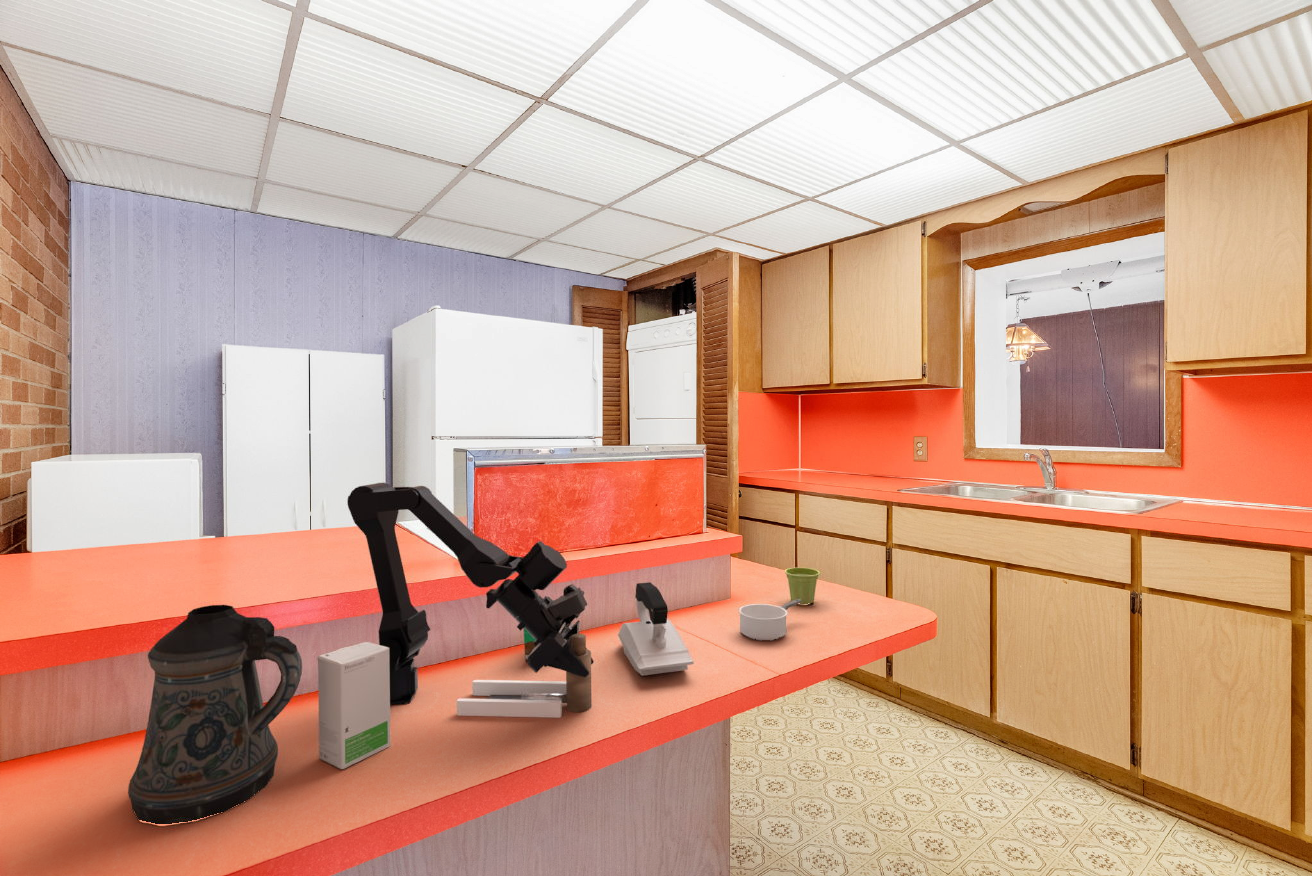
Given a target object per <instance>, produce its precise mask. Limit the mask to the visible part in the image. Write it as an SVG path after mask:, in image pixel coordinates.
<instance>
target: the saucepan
mask: <svg viewBox="0 0 1312 876" xmlns="http://www.w3.org/2000/svg"><path fill="white" fill-rule="evenodd" d="M800 602H801V600H800V599H796V600H794V601H791V600H790V601H789V602H786V603H783V604H782V605H780V606H779V605H774V604H768V603H753V604H752V603H751V604H746V605H743V606H740V607H739V608H738V611H737V612H738V613H739V630H740V633H741V634H743V635H744V636H746V637H748V638H750V639H752V640H755V639H756V640H757V641H762V640H770V641H774V639H776V640H778V639H780V638H782V637H784V636H786V634H787V616H788V614H789V612H788V609H789V608H790V607H794V606H795V605H797V604H798V603H800ZM779 637H780V638H779ZM756 640H755V641H756Z"/></svg>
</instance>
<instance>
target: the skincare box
mask: <svg viewBox="0 0 1312 876" xmlns="http://www.w3.org/2000/svg"><path fill="white" fill-rule="evenodd" d="M316 659H317V668H318V669H317V671H318V672H317V673H318V675H317V676H318V686H317V687H318V758H319V759H320V760H322V761H324V762H326V763H328V764H329V765H331V766H334V767H335V768H338V769H340V770H344V769H347V768H348V767H350V766H352V765H355V764H357V763H359V762H360V761H361V762H362V760H365V759H367V758H369V757H371V756H373V755H375V754H377V753H379V752H381V751H384V750H385V749H387V748H389V747H390V746H391V744H392V743H391V704H390V670H389V669H390V668H389V648H388V647H385V646H381V645H379V644H378V643H377V644H376V643H373V642H370V641H364V642H360V643H357V644H354V645H350V646H345V647H341V648H338V649H337V650H334V651H330V652H327V653H326V652H325V653H323V654H321V655H318V656H317V658H316Z"/></svg>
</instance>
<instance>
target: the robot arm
mask: <svg viewBox="0 0 1312 876" xmlns="http://www.w3.org/2000/svg"><path fill="white" fill-rule="evenodd" d="M346 500H347V507H348V508H347V509H348V510H349V513H350V515H351V517H352V520H353V523H354V524H355V525H356V526H357V528H359V530H360V532H362V534H364V536H365V539H366V542H367V547H368V551H369V556H370V560H371V566H372V570H373V574H374V575H373V576H374V578H375V583H376V587H377V592H378V597H379V602H380V606H381V610H382V615H381V620H380V624H379V628H378V645H381V646H385V647H388V648H389V668H390V669H389V670H390V705H396V704H397V705H398V704H408V703H411V702H412V701H413V697H414V695H416V693H417V691H418V689H419V678H418V667H417V666H415V659H414V658H415V657H417V656H419V654H420V651H421V649H422V648H423V647H424V646H425V644H426V643H427V641H428V640H429V639H428V638H429V632H430V631H431V627H430V626H429V624H428V621H427V613H426V610H425V609H422V610H420V611H418V610H417V609H416V607H414V606H413V604H412V602H411V597H410V592H409V589H408V584H407V580H406V575H405V571H404V565H403V562H402V557H401V553H400V548H399V544H398V538H397V534H396V529H395V528H396V523H397V520H398V516H399V511H400V510H401V511H404V510H405V511H406V510H408V511H410V512H411V514H413V516H415V517H416V518H417V519H418V520H419V521H420V522H421V523H422V524H423V525H424V526H425V527H426V528H427V529H428V530H430V532H431V533H433V534H434V535H435V537H437V538H438V539H439V540H440V541H441V543H443V544H444V545H445V546H446V547H447V548H448V549H449V550H450V551H451V552H453V554H454V555H455V556H456V558H457V560H458V563H459V566H460V569H461V570H462V571H463V573H464V574H465V576H466V577H467V578H468V580H470V582H471V584H473V585H474V586H475V587H478V588H480V589H481V588H490V587H492V586H494V585H495V584H497V583H498V582H499V581H503V580H504V581H503V582H502V583H500V585H498V587H496V588H490V589H489V590H488V591H486V593H485V595H486V604H485V607H486V609H488V610H489V609H491V608H492V606H494V605H495V603H497V602H498V603H499V604H500V605H501V607H503V608H504V609H505V611H507V613H509V615H511V616H512V618H513V619H515V620H516V621H517V622H518V624H517V625H516V628H517V629H518V630H519V631H522V630H524V628H525V629H526V630H527V631H528V632H529V633H530V634H531V635H532V636H533V637H534V638H535V639H536V640H535V642H534V643H533V644H534V645H535V646H536V647H535V648H534V649H533V650H532V652H531V653H530V655H529V656H528V663H527V666H528V667H529V668H530V669H532V671H534V673H538V672H539V671H540V670H541V669H542V668H543V667H544V668H547V667H550V668H554V669H557V670H560V671H565V672H566V671H567V672H570V673H573V674H576V675H579V676H582V677H587V676H588V675H589V671H588V669H587V668H586V666H585V665H584V664H583V662H582V661H581V660H580V659H579V657H578V656H577V655H576V653H575V652H574V651H573V650H572V647H571V636H572V635H574V634H580V622H581V621H580V619H578V618H579V617H580V615H581V614H582V612H584V611H585V610H586V606H588V602H587V600H586V598H585V596H584V595H585V591H584V590H582V589H581V587H577V586H575V585H574V584H573V583H571V584H569V585H566V586H565V587H564V588H563V595H560V596H559V597H558V598H556V599H554V600H553V599H552V598H551V597H549V596H547V595H545V596H544V597H543V596H541V595H540V594H539V593H538V592H537V591H536V590H540V591H544V590H546V589H547V588H548V587H549V586H550V585H551V584H552V583H553V582H554V581H555V580H556V579H557V578H558V577H559V576H560V575H561V574H562V573H563V572H564V571H565V570H566V569H567V567H568V565H567V561H566V559H565V558H564V557H563V554H561V552H559V551H558V549H557V550H556V549H554V548H553V547H552V546H550V545H548V544H547V545H546V544H545V543H544V542H543V541H542V540H539V541H536V543H534V545H532V546H531V548H530V550H529V551H528V553H526V554H525V556H523V557H521V556H516V555H511V554H508V553H507V552H506V551H505V550H503V549H501V548H500V547H499V546H498V545H496V544H494V543H493V542H491V541H489V540H487V539H484V538H481V537H479V536H478V535H477V534H475V533H474V532H473V531H472V530H471V529H470V528H468V526H466V525H465V523H463V522H462V521H461V520H460V519H459V518H458V517H457V516H456V515H455V514H454V513H453V512H452V511H451V510H449V509H448V508H447V506H445V505H444V504H443V503H442V502H441V501H440V500H439V499H438V498H437V497H436V496H435V495H434V494H433V493H432V491H431V489H430V488H428V487H426V486H424V485H417V486H395V487H394V486H392V485H391V484H389V483H386V482H377V483H371V484H370V483H369V484H364V485H359V486H356V487H355V488H353V489H352V490H351V492H350V493H349V495H348V496H347V499H346ZM515 573H517V576H516V577H515V578H513V579H511V578H510V577H511V576H513V575H514V574H515ZM575 619H577V621H576V622H575V624H573V622H574V620H575ZM586 649H588V648H587V647H586ZM593 664H594V660H593V657H592V656H591V666H592V665H593Z"/></svg>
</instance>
